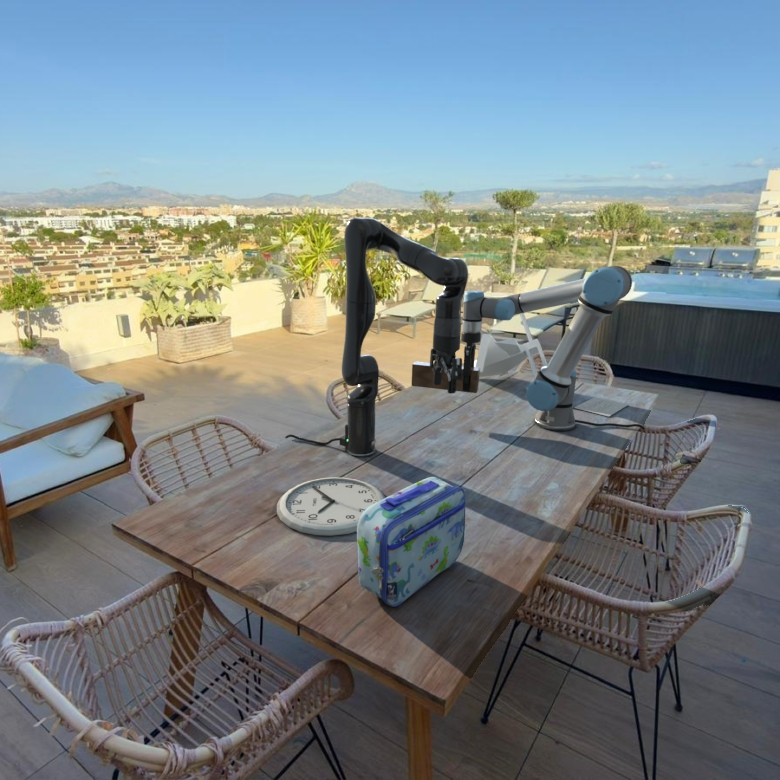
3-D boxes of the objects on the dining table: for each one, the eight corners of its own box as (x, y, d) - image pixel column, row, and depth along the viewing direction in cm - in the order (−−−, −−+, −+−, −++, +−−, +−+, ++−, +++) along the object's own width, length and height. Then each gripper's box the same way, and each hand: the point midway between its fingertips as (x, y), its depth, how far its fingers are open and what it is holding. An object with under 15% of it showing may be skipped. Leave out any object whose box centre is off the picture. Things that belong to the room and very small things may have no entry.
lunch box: (386, 620, 101) (388, 525, 95) (350, 593, 108) (349, 503, 102) (468, 563, 119) (474, 480, 112) (432, 543, 126) (436, 464, 120)
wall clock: (392, 527, 129) (268, 531, 127) (391, 533, 130) (269, 537, 127) (383, 473, 158) (282, 475, 155) (383, 478, 158) (282, 480, 156)
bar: (478, 389, 210) (479, 367, 208) (476, 393, 206) (478, 370, 203) (414, 382, 218) (415, 361, 215) (411, 385, 213) (412, 364, 211)
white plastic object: (488, 419, 265) (468, 396, 240) (469, 347, 287) (449, 319, 262) (559, 395, 253) (546, 369, 228) (534, 321, 275) (519, 290, 250)
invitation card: (608, 416, 214) (573, 407, 224) (608, 416, 214) (573, 408, 224) (628, 404, 229) (594, 396, 238) (628, 405, 229) (594, 397, 238)
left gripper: (423, 328, 149) (421, 383, 154) (447, 338, 137) (444, 397, 141) (446, 327, 152) (443, 380, 157) (472, 336, 139) (468, 394, 144)
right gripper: (465, 326, 211) (461, 381, 218) (457, 334, 195) (453, 394, 202) (484, 328, 209) (479, 383, 216) (477, 336, 193) (473, 396, 200)
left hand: (444, 388), depth 149 cm, fingers open, 8 cm apart
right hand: (467, 388), depth 209 cm, fingers closed on bar, 5 cm apart
